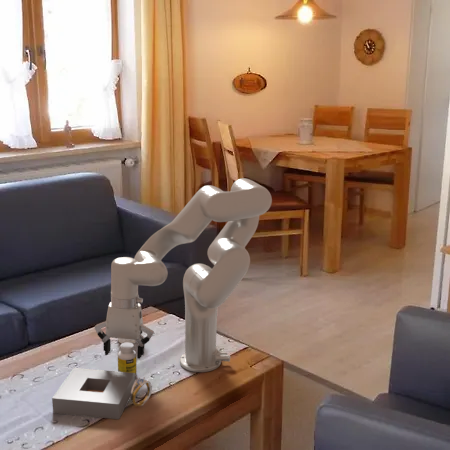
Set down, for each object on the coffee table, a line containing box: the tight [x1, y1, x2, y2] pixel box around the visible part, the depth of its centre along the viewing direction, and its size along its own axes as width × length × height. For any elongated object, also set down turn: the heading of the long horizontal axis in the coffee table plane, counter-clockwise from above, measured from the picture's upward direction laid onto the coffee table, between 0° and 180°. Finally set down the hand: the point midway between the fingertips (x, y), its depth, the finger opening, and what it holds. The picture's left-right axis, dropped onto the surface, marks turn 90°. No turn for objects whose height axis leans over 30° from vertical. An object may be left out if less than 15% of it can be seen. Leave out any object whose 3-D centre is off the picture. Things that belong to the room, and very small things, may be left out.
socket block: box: [51, 367, 136, 420], centre depth 173 cm, size 18×16×4 cm
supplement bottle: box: [117, 342, 138, 377], centre depth 185 cm, size 5×5×10 cm
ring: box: [130, 377, 153, 407], centre depth 171 cm, size 7×3×8 cm, turn 137°
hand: (123, 355), depth 184 cm, fingers open, 9 cm apart
